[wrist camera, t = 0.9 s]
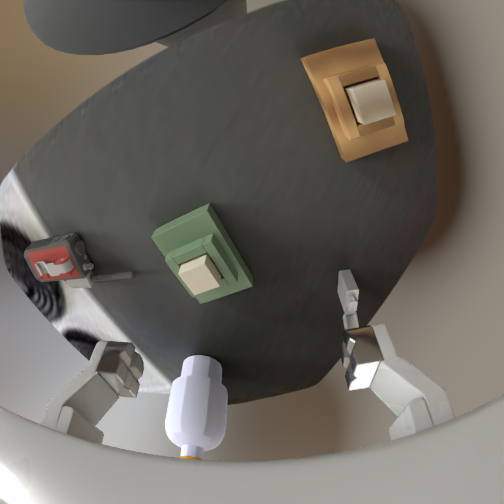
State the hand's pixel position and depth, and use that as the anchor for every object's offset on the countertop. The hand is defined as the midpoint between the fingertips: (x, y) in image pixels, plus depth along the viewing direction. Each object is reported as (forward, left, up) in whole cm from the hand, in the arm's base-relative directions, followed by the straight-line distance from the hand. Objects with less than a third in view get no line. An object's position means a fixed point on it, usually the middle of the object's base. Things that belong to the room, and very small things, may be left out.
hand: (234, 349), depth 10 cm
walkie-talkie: (+1, -29, -24) cm, 38 cm away
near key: (-2, +14, -21) cm, 25 cm away
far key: (+9, -10, -21) cm, 25 cm away
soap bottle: (+31, -24, -24) cm, 46 cm away
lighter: (+23, +5, -24) cm, 34 cm away
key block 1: (+9, -10, -24) cm, 28 cm away
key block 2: (-2, +14, -24) cm, 28 cm away
